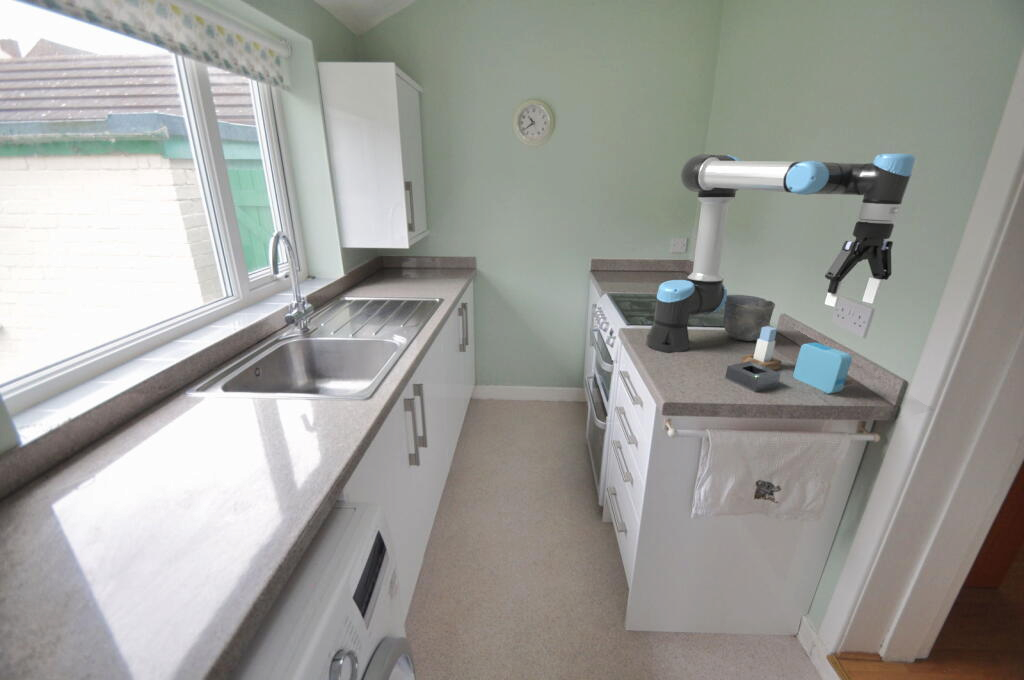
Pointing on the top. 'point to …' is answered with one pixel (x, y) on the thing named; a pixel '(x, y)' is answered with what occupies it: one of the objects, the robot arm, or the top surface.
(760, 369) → the port
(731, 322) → the grey metal pot
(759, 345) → the plug
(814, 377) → the data package
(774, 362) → the frame
